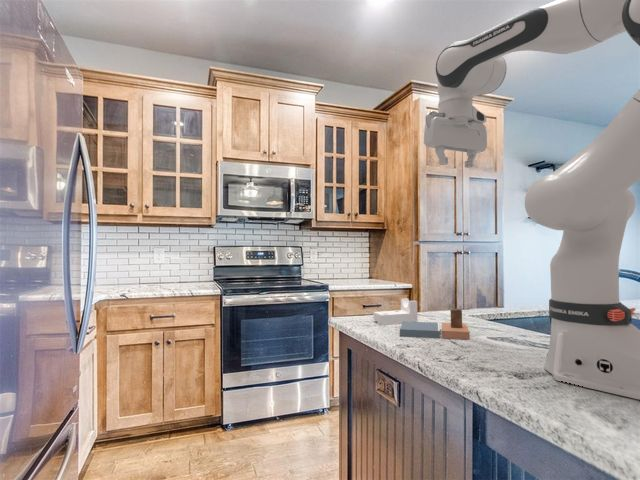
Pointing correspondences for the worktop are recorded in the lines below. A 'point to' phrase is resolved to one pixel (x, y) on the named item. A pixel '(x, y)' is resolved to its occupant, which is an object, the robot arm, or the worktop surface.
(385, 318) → the bracket
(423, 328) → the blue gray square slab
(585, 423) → the worktop surface
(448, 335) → the stub
